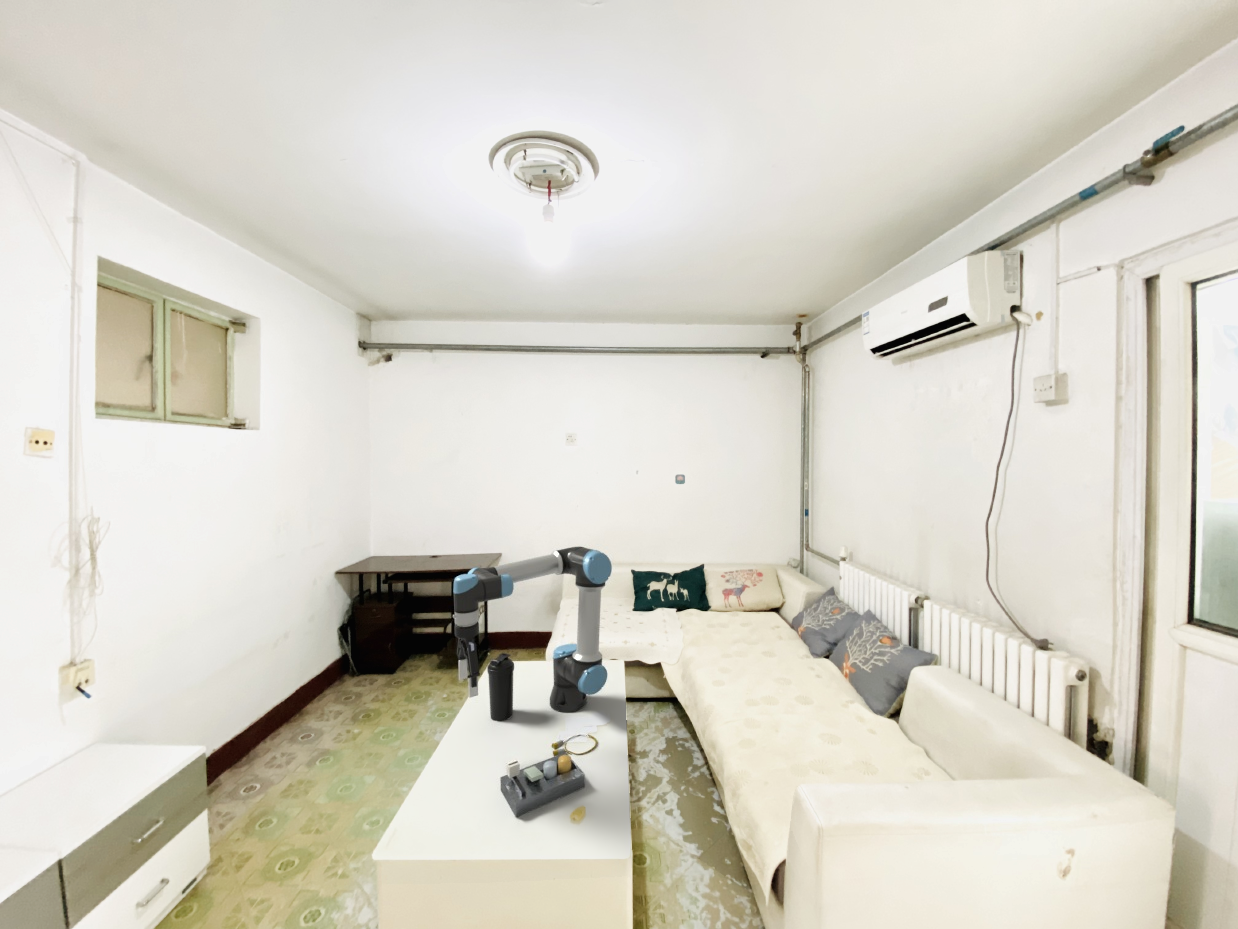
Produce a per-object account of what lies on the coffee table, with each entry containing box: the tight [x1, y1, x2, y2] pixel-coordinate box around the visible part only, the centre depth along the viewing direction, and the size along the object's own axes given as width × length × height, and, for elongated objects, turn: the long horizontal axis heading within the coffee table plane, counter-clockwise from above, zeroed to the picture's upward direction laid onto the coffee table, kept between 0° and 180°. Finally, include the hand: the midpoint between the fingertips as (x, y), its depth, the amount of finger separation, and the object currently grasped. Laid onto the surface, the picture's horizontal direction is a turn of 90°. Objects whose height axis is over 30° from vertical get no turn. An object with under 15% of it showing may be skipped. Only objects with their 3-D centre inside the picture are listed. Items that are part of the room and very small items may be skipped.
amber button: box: [558, 754, 572, 776], centre depth 149 cm, size 4×4×4 cm
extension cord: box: [551, 734, 598, 757], centre depth 167 cm, size 12×16×2 cm
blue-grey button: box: [543, 761, 557, 781], centre depth 147 cm, size 4×4×4 cm
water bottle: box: [486, 652, 515, 722], centre depth 186 cm, size 10×10×23 cm
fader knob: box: [506, 759, 521, 778], centre depth 144 cm, size 3×2×3 cm
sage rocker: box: [523, 766, 543, 782], centre depth 144 cm, size 4×7×1 cm, turn 32°
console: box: [499, 752, 586, 818], centre depth 145 cm, size 22×13×5 cm, turn 122°
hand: (468, 687), depth 156 cm, fingers open, 13 cm apart
